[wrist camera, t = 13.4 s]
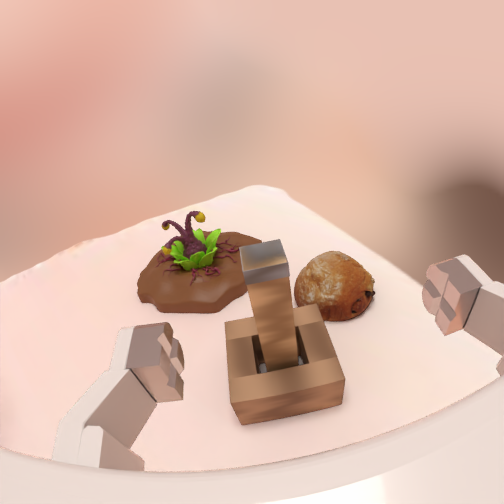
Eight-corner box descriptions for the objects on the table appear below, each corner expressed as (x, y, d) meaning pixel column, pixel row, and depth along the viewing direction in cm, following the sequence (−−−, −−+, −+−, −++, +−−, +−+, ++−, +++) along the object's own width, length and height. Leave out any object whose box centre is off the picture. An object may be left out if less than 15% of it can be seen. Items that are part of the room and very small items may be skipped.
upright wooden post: (271, 391, 29) (242, 271, 20) (267, 368, 32) (239, 247, 23) (301, 385, 29) (288, 262, 20) (295, 362, 32) (279, 239, 23)
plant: (234, 327, 38) (213, 256, 32) (124, 305, 46) (95, 247, 39) (276, 242, 54) (267, 182, 47) (183, 238, 61) (167, 187, 55)
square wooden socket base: (241, 425, 26) (230, 403, 24) (234, 350, 35) (224, 322, 32) (341, 404, 26) (345, 378, 24) (317, 333, 35) (316, 303, 32)
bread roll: (326, 288, 46) (302, 246, 44) (386, 278, 39) (365, 229, 37) (299, 334, 40) (270, 289, 38) (368, 330, 33) (343, 276, 30)
